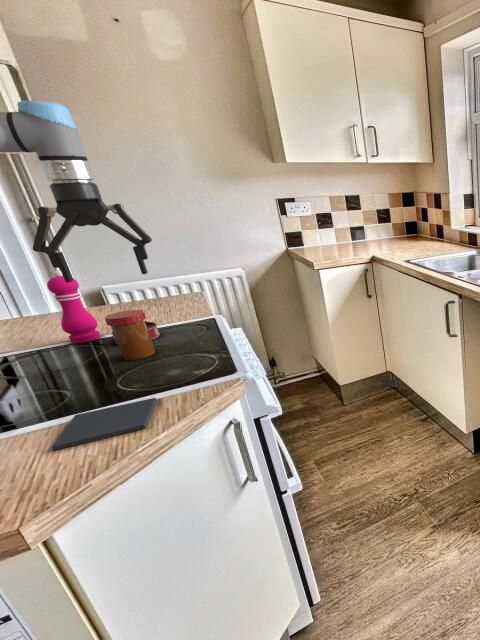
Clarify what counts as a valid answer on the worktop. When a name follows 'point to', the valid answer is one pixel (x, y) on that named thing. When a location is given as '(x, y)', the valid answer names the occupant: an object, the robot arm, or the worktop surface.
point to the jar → (133, 340)
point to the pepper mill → (73, 310)
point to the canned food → (151, 329)
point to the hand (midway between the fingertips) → (108, 277)
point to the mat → (106, 423)
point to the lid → (125, 317)
